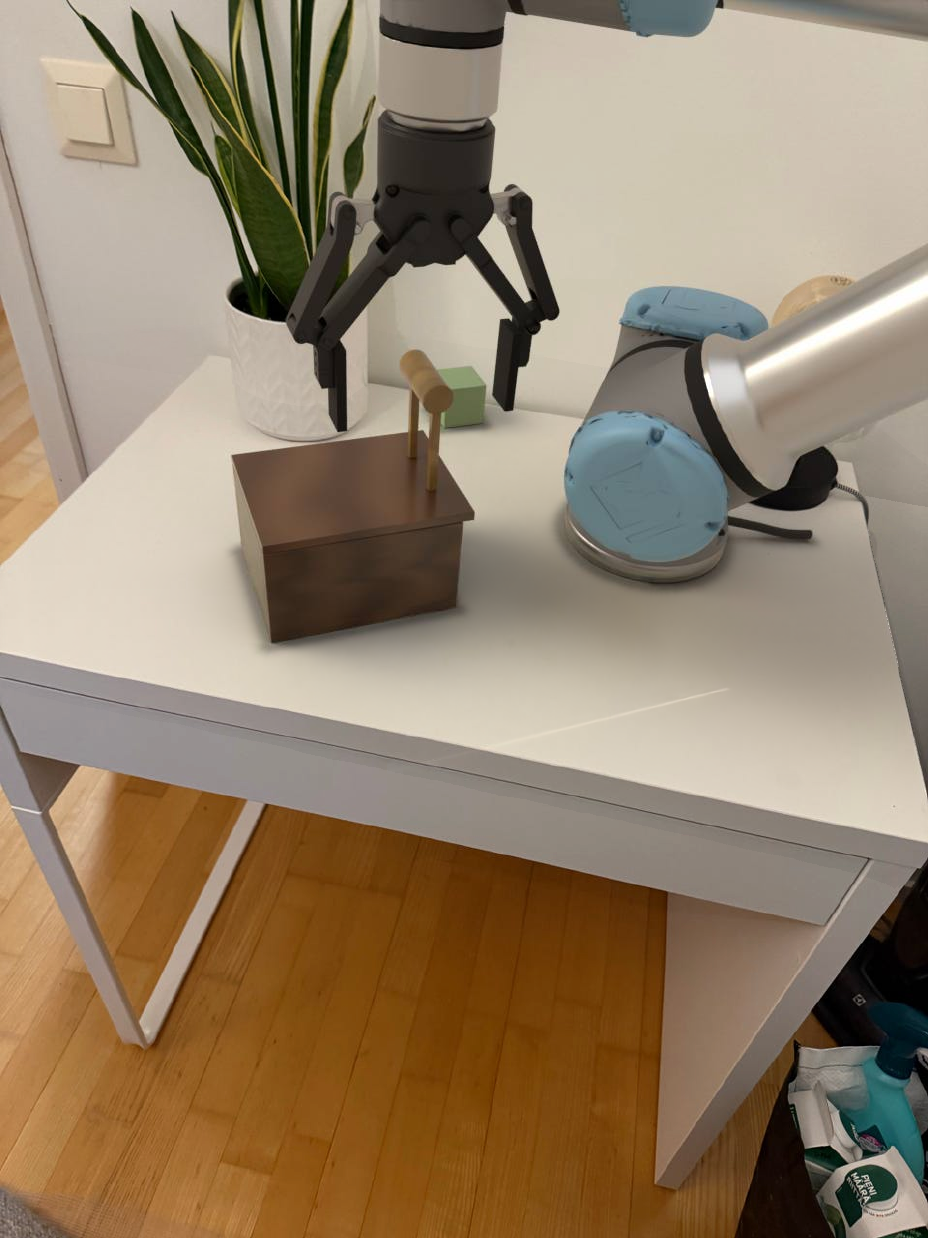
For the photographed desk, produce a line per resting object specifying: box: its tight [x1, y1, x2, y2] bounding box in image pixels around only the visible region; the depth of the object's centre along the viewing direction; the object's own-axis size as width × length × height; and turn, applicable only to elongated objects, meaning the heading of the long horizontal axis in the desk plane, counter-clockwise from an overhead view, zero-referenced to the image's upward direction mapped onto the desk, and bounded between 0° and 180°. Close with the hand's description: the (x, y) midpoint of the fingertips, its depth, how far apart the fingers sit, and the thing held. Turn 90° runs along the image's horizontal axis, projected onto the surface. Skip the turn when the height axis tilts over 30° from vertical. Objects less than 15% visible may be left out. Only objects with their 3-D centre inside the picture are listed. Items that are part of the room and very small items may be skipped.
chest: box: [231, 463, 464, 644], centre depth 78 cm, size 16×13×9 cm
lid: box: [230, 349, 476, 554], centre depth 72 cm, size 17×13×10 cm
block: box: [436, 365, 488, 429], centre depth 102 cm, size 5×5×5 cm
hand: (422, 413), depth 73 cm, fingers open, 13 cm apart
